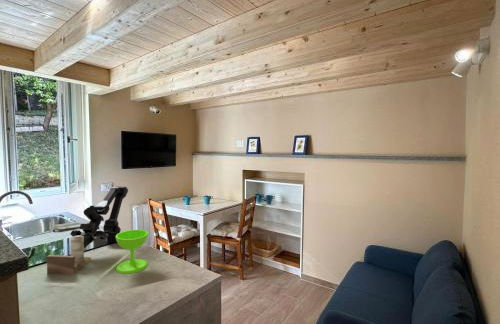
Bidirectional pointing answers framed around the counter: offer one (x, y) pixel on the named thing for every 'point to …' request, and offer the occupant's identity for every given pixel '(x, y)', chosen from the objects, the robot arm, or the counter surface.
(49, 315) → the counter surface
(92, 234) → the robot arm
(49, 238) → the counter surface
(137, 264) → the wineglass
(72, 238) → the roll carriage
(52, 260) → the roll holder
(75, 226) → the dish towel
